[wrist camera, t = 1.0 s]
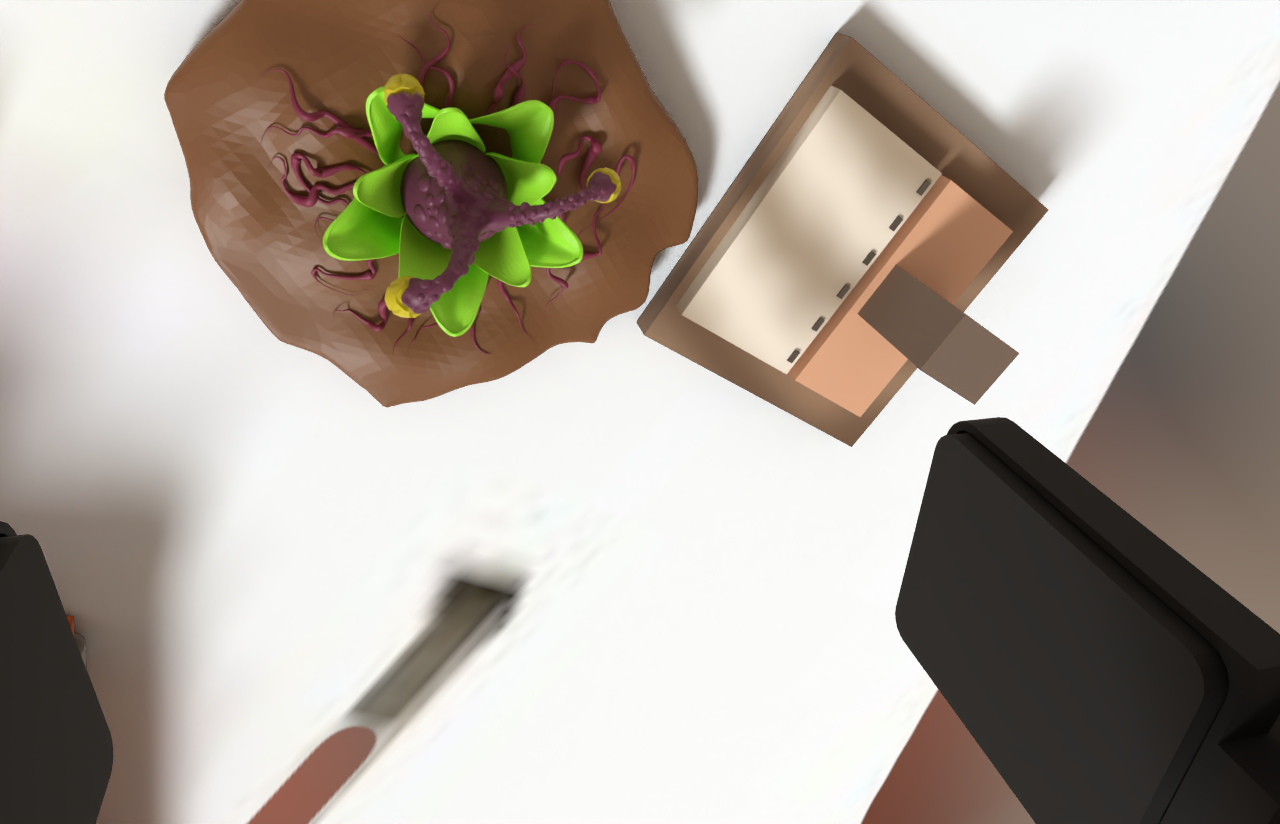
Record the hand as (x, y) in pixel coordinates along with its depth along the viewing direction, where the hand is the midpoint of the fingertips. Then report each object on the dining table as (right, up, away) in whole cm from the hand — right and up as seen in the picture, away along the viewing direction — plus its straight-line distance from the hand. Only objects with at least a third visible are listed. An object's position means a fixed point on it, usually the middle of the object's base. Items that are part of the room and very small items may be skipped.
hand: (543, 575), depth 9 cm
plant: (-8, +12, +28) cm, 32 cm away
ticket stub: (+14, +8, +35) cm, 38 cm away
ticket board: (+11, +10, +35) cm, 38 cm away
